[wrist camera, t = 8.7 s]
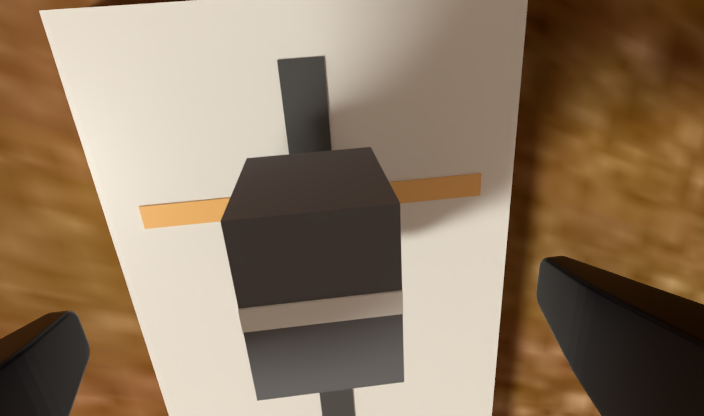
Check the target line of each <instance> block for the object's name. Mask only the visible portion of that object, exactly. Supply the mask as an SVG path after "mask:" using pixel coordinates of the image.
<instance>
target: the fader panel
mask: <svg viewBox="0 0 704 416" xmlns="http://www.w3.org/2000/svg"><path fill="white" fill-rule="evenodd" d="M527 5H528V0H192V1H177V2H162V3H147V4H132V5H117V6H102V7H87V8H72V9H57V10H42V11H39V12H40V15H41V18H42V22H43V25H44V28H45V31H46V34H47V37H48V40H49V43H50V46H51V50H52V53H53V56H54V59H55V62H56V65H57V68H58V71H59V74H60V78H61V81H62V84H63V87H64V90H65V93H66V96H67V99H68V103H69V106H70V109H71V112H72V115H73V118H74V121H75V124H76V127H77V131H78V134H79V137H80V140H81V143H82V146H83V149H84V152H85V155H86V159H87V162H88V165H89V168H90V171H91V174H92V177H93V180H94V183H95V187H96V190H97V193H98V196H99V199H100V202H101V205H102V208H103V212H104V215H105V218H106V221H107V224H108V227H109V230H110V233H111V236H112V240H113V243H114V246H115V249H116V252H117V255H118V258H119V261H120V264H121V268H122V271H123V274H124V277H125V280H126V283H127V286H128V289H129V292H130V296H131V299H132V302H133V305H134V308H135V311H136V314H137V317H138V321H139V324H140V327H141V330H142V333H143V336H144V339H145V342H146V345H147V349H148V352H149V355H150V358H151V361H152V364H153V367H154V370H155V373H156V377H157V380H158V383H159V386H160V389H161V392H162V395H163V398H164V401H165V405H166V408H167V411H168V414H169V416H492V407H493V396H494V385H495V373H496V362H497V350H498V339H499V327H500V316H501V304H502V293H503V281H504V270H505V258H506V247H507V235H508V224H509V212H510V201H511V189H512V178H513V166H514V155H515V143H516V132H517V120H518V109H519V97H520V86H521V74H522V63H523V51H524V40H525V28H526V17H527ZM364 147H371V149H372V150H373V152H374V154H375V156H376V158H377V160H378V162H379V164H380V166H381V168H382V170H383V171H384V173H385V175H386V177H387V179H388V181H389V183H390V185H391V187H392V189H393V191H394V192H395V194H396V196H397V198H398V200H399V202H400V216H401V260H402V291H403V348H404V382H400V383H393V384H385V385H377V386H369V387H361V388H353V389H346V390H338V391H330V392H322V393H314V394H306V395H298V396H291V397H283V398H275V399H267V400H259V401H257V397H256V392H255V387H254V382H253V377H252V373H251V368H250V363H249V358H248V353H247V348H246V343H245V338H244V334H243V332H242V327H241V323H240V318H239V313H238V304H237V300H236V295H235V290H234V285H233V280H232V275H231V270H230V266H229V261H228V256H227V251H226V246H225V241H224V236H223V232H222V227H221V222H220V221H221V219H222V216H223V214H224V211H225V209H226V207H227V204H228V202H229V200H230V197H231V195H232V192H233V190H234V188H235V185H236V183H237V180H238V178H239V176H240V173H241V171H242V168H243V166H244V164H245V161H246V159H247V158H254V157H265V156H276V155H287V154H298V153H309V152H320V151H331V150H342V149H353V148H364Z"/></svg>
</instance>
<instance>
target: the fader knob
mask: <svg viewBox="0 0 704 416" xmlns="http://www.w3.org/2000/svg"><path fill="white" fill-rule="evenodd" d="M220 222H221V227H222V232H223V236H224V241H225V246H226V251H227V256H228V261H229V266H230V270H231V275H232V280H233V285H234V290H235V295H236V300H237V304H238V313H239V318H240V323H241V327H242V332H243V334H244V338H245V343H246V348H247V353H248V358H249V363H250V368H251V373H252V377H253V382H254V387H255V392H256V397H257V401H259V400H267V399H275V398H283V397H291V396H298V395H306V394H314V393H322V392H330V391H338V390H346V389H353V388H361V387H369V386H377V385H385V384H393V383H400V382H404V348H403V291H402V260H401V216H400V202H399V200H398V198H397V196H396V194H395V192H394V191H393V189H392V187H391V185H390V183H389V181H388V179H387V177H386V175H385V173H384V171H383V170H382V168H381V166H380V164H379V162H378V160H377V158H376V156H375V154H374V152H373V150H372V149H371V147H364V148H353V149H342V150H331V151H320V152H309V153H298V154H287V155H276V156H265V157H254V158H247V159H246V161H245V164H244V166H243V168H242V171H241V173H240V176H239V178H238V180H237V183H236V185H235V188H234V190H233V192H232V195H231V197H230V200H229V202H228V204H227V207H226V209H225V211H224V214H223V216H222V219H221V221H220Z"/></svg>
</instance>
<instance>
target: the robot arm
mask: <svg viewBox="0 0 704 416" xmlns="http://www.w3.org/2000/svg"><path fill="white" fill-rule="evenodd" d="M537 301H538V304H539V306H540V308H541V310H542V312H543V314H544V316H545V318H546V320H547V322H548V324H549V326H550V328H551V330H552V332H553V334H554V336H555V338H556V340H557V342H558V344H559V346H560V348H561V350H562V352H563V354H564V356H565V358H566V360H567V361H568V363H569V365H570V367H571V369H572V370H573V372H574V374H575V375H576V377H577V379H578V380H579V382H580V383H581V385H582V386H583V388H584V389H585V391H586V393H587V394H588V396H589V397H590V399H591V400H592V402H593V403H594V405H595V406H596V408H597V410H598V411H599V413H600V414H601V416H704V305H703V304H700V303H697V302H694V301H692V300H689V299H686V298H683V297H680V296H677V295H674V294H672V293H669V292H666V291H663V290H660V289H657V288H654V287H651V286H649V285H646V284H643V283H640V282H637V281H634V280H631V279H629V278H626V277H623V276H620V275H617V274H614V273H611V272H609V271H606V270H603V269H600V268H597V267H594V266H591V265H588V264H586V263H583V262H580V261H577V260H574V259H571V258H568V257H565V256H556V257H547V258H544V259H543V260H542V261H541V263H540V268H539V276H538V284H537ZM89 355H90V347H89V343H88V341H87V338H86V335H85V333H84V330H83V328H82V325H81V322H80V320H79V317H78V315H77V314H76V313H75V312H73V311H61V312H52V313H48V314H46V315H44V316H42V317H40V318H38V319H37V320H35V321H33V322H31V323H29V324H27V325H26V326H24V327H22V328H20V329H18V330H16V331H15V332H13V333H11V334H9V335H7V336H5V337H3V338H2V339H0V416H69V415H70V412H71V409H72V406H73V404H74V401H75V398H76V395H77V392H78V389H79V386H80V383H81V380H82V377H83V375H84V372H85V369H86V366H87V363H88V360H89Z"/></svg>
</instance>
